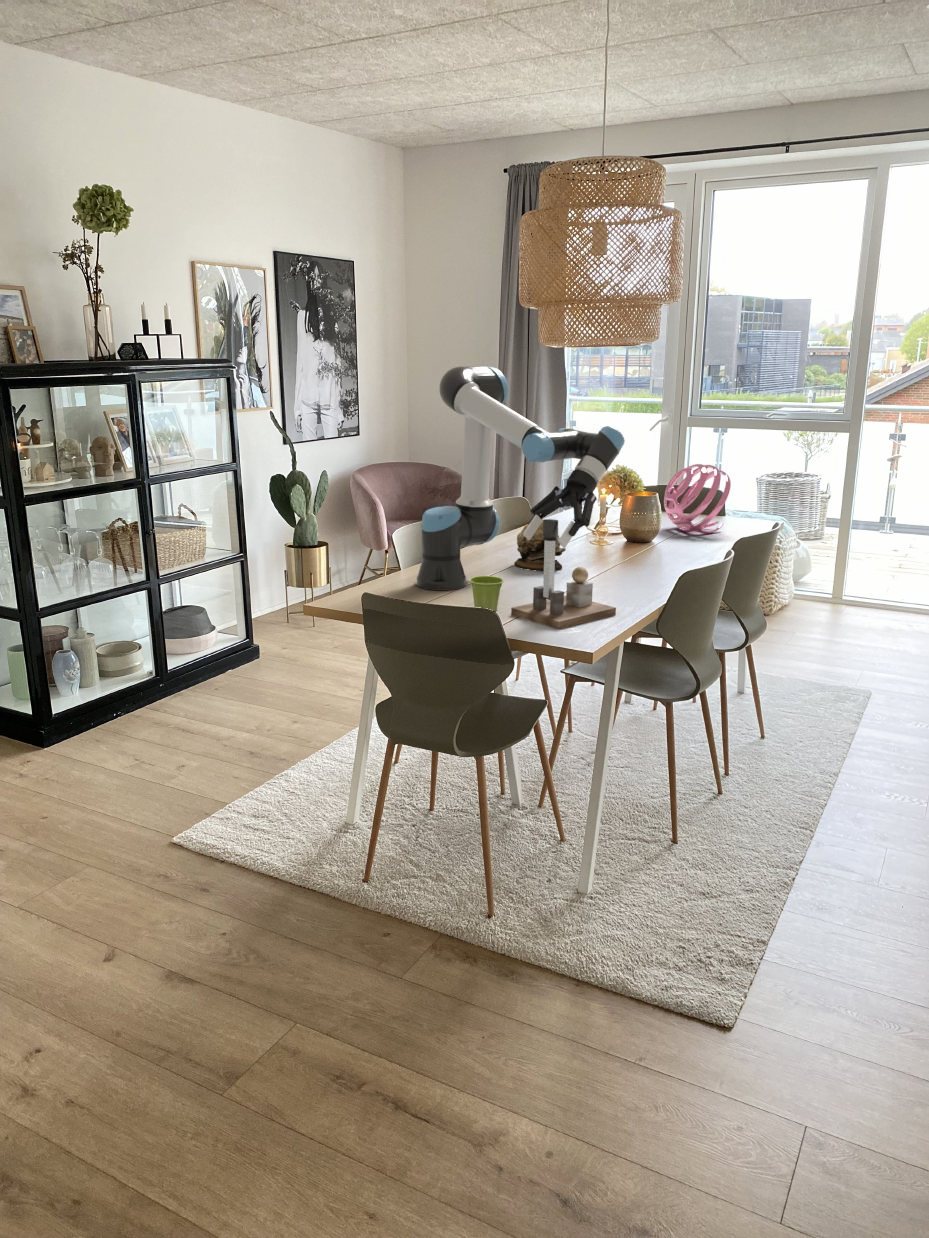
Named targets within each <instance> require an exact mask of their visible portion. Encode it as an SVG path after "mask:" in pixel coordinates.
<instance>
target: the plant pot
mask: <svg viewBox="0 0 929 1238" xmlns="http://www.w3.org/2000/svg"><path fill="white" fill-rule="evenodd" d="M468 580H469V582H470V584H471V585H470V586H471V588H472V589H471V590H472V595H473V602H474V608H475V607H481V608H488V609H491V610H493V611H492V612H496V611H497V610H498V606H499V599H500V592H501V587H502V585H503V583H504V578H502V577H498V576H492V575H479V576H472V577H470V578H469V579H468Z"/></svg>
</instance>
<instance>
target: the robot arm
mask: <svg viewBox="0 0 929 1238" xmlns="http://www.w3.org/2000/svg"><path fill="white" fill-rule="evenodd" d="M439 394H440V398H441V399H442V401H443V403H444V404H445V405H446V406H447V407H448V408H449V409H451V410H453V412H456V413H457V414H459V415H462V416H463V418H464V431H463V432H464V433H463V450H462V468H461V469H462V470H461V472H462V473H461V485H460V486H461V489H460V496H459V498H457V499H456V501H455V506H453V505H443V506H436V507H432V508H429V509H426V510H425V511H424V512H423V513H422V516H421V517H422V519H421V553H422V554H421V555H422V558H421V559H422V560H421V563H420V566H419V570H418V574H417V576H416V585H417V587H418V588H421V589H423V590H424V589H425V590H433V591H452V590H457V589H462V588H465V586H467V578H466V577H467V576H466V573H465V571H464V566H463V563H462V560H461V548H466V547H471V546H480V545H483V544H485V543H489V542H490V541H492V540H493V539H494V538H495V537H496V536H497V534H498V532H499V528H500V516H499V515H498V512H497V510H496V509H495V508H494V502H493V501H492V500H491V499H490V497H489V495H490V483H491V481H490V479H491V465H492V463H491V462H492V450H493V449H492V448H493V434H494V432H495V434H497V435H499V436H501V437H502V438H504V439H505V440H507V441H508V442H510V443H512V444H513V445H515V446H517V447H518V448H519V449H521V450H522V451H521V452H522V453H523V455H524V457H525V459H526V460H527V461H529V462H530V463H531V462H532V463H546V462H551V461H559V460H569V459H577V460H579V461H578V463H577V464H576V465H575V467H574V470H573V471H572V472H571V473H570V474H569V476H568V478H567V480H566V485H565V487H563V489H561V488H559V486H554V488H553V489H552V490H551V492H550V493H548V494H547V495H545V497H544V498H543V499H541V500H540V501H539V502H538V503H536V504H535V505H534V506H533V507H532V508H531V509H530V513H531V514H532V515H533V516H532V518H531V519H530V521H529V522H528V523H527V524H528V527H527V528H526V530H525V531H524V533H523V535H524V536H525V537H526V538H527V539H528V540H530V539H531V538H532V536H533V535H534V533H535V532H536V530H537V529H538V527H539V526H540V524H541V523H542V520H541V519H542V518H544V519H545V518H546V517H548V516H549V515H551V514H552V513H553V512H555V511H557V510H558V509H562V508H564V507H570V508H573V521H572V520H571V521H570V522H569V524H568V525H567V526H566V528H565V530H564V531H563V533H562V534H561V536H559V538H560V539H559V540H558V542H559V543H560V546H561V548H566V547H567V546H568V544H569V543H570V541H571V540H572V539H573V537H575V536H576V535H577V533H578V532H579V530H580V529H581V528H583V527H585V528H587V527H589V526H590V524H591V518H592V514H593V508H594V504H595V503H596V501H597V496H596V495H595V493H594V491H595V489H597V486H598V484H599V483H600V482H601V480H602V479H603V477H604V476H605V474H606V473H607V471H608V469H609V468H610V466H611V465H612V464H613V462H615V459H616V458H617V457H618V456H619V454H620V451H621V449H622V448H623V446H624V445H625V441H626V440H625V437H624V435H623V434H622V432H621V431H619V430H618V429H617V428H615V427H613V426H609V425H606V426H604V427H602V428H601V429H600V430H599V431H598V432H597V433H595V432H587V431H582V430H578V429H574V428H565V427H563V428H559V429H558V430H556V431H547V430H545V428H542V427H541V426H539V425H537V424H536V423H534V422H532V421H531V420H529V419H527V418H526V417H524V416H523V415H521V414H519V413H517V412H516V411H515V410H513V409H511V408H510V407H508V406H506V405H504V403H505V401H506V400H507V398H508V395H509V384H508V381H507V378H506V376H505V375H504V374H503V372H502V371H501V370H500V369H499V368H496V367H493V366H486V365H482V366H481V365H477V366H456V367H453V368H451V369H448V370H447V371H446V372H445V373H444V375H443V376H442V377H441V380H440V382H439Z"/></svg>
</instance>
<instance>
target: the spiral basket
mask: <svg viewBox="0 0 929 1238" xmlns="http://www.w3.org/2000/svg"><path fill="white" fill-rule="evenodd" d="M696 467H697V468H696ZM693 468H695V469H694V470H693ZM708 469H712V470H711V471H710V472H708ZM685 474H686V476H685V478H683V479H682V481H681V482H680V483H679V484H678V485H677V487H676V488H675V485H676V484H677V482H678V481H679V480H680V479H681V478H682V476H684V475H685ZM697 474H700V475H699V479H698V480H696V481H695V482H694V483H693V484H692V485H691V482H692V480H693V478H694V476H696V475H697ZM721 475H723V476H724V477H725V486H724V490H723V493H722V495H721V496H720V499H719V501H718V502H717V504H716V506H715V507H714V508H713V509H712V510H711V512H710V513H709V514H708V515H707V516H706V517H705V518H704V519H703V520H702V521H700V522H699V523H697V524H694V523H693V521H694V520H695V519H696V518H697V517H699V516H700V515H701V514H702V513H703V512H704V511H705V510H706V508H707V507H708V506H709V505H710V504H711V502H712V500H713V499H714V497H715V496H716V495H717V491H718V489H719V487H720V484H721ZM712 478H713V481H712V485H711V487H710V489H709V491H708V493H707V494H706V496H705V498H704V499H703V500H702V501H701V503H700V504H699V505H698V506H697V507H696V508H695V509H694V510H693V511H692V512H691V513H690V514H688V515H685V513H684V510H685V509H687V508H688V507H690V505H691V504H692V503H693V502H694V501H695V500H696V499H697V497H698V496H699V495H700V493H701V491H702V490H703V488H704V486H705V484H706V482H707V481H708V480H710V479H712ZM730 478H731V477H730V476H729V475H728V474H727V473H726V472H725V471H723V470H720V469H719V468H718V467H717V466H715V465H712V464H702V463H695V464H692V465H689V466H688V467H684V468H682V469H680V470H679V471H678V472H676V473H675V474H674V475H673V476H672V477H671V479H670V480H669V482H668V483H667V485H666V488H665V491H664V497H663V498H664V499H663V506H664V510H665V512H666V515H667V517H668V519H669V521H670V522H671V523H672V524H673V525H676V527H677V528H678V529H679V530H680V531H682V532H683V533H699V534H704V535H705V534H706V535H707V534H708V535H709V534H713V533H716V532H718V531H719V530H721V528H722V527H723V525H724V522H721V523H720V521H718V520H717V521H715V522H712V523H710V522H711V521H713V519H714V518H715V517H716V516H717V515H718V514H719V512H720V511H721V510H722V508H723V507H724V505H725V503H726V501H727V499H728V498H729V495H730V492H731V484H732V483H731V479H730ZM690 485H691V486H690ZM689 486H690V487H689ZM688 487H689V489H688ZM686 490H687V491H686ZM685 491H686V493H684V492H685ZM683 493H684V495H683ZM682 495H683V497H682V498H681V501H680V502H679V501H678V498H679V497H680V496H682ZM668 501H669V502H668ZM667 503H668V504H667ZM719 523H720V525H719V526H718V527H716V528H715V529H713V530H704V529H708V528H711V527H713V526H716V525H717V524H719Z"/></svg>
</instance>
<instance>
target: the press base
mask: <svg viewBox="0 0 929 1238" xmlns="http://www.w3.org/2000/svg"><path fill="white" fill-rule="evenodd" d="M593 586H594V583H593V582H589V581H587V580H586V581H585V582H583V583H577V582H575V581H574V580H572V581H567V582H566V593H565V591H562V590H554V591H553V592H551V593H550V600H548V599H544V598H542V594H543V585H540V586H535V587H533V588H532V589H533V591H532V592H533V595H532V596H533V597H532V599H533V600H532V602H531V603H526V604H523V605H522V604H521V605H518V606H513V607H511V609H510V610H511V612H510V614H511V616H512V617H513V616H514V617H518V618H521V619H524V620H527V621H530V622H534V623H537V624H541V625H543V626H547V627H550V628H554V629H557V630H562V629H565V628H568V627H573V626H577V625H581V624H585V623H589V622H593V621H597V620H600V619H605V618H607V617H613V616H616V615H617V614H616V613H617V607H616V606H611V605H609V604H604V603H600V602H595V601H593V591H594V590H593ZM565 594H566V595H565Z"/></svg>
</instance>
